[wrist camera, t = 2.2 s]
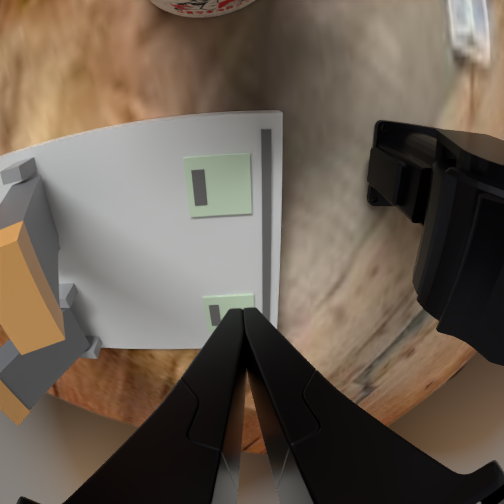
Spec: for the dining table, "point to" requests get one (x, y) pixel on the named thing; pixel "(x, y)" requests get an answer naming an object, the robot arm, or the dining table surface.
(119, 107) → the dining table surface
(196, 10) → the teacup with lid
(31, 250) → the rocker
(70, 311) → the block
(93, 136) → the switch unit
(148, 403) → the dining table surface
